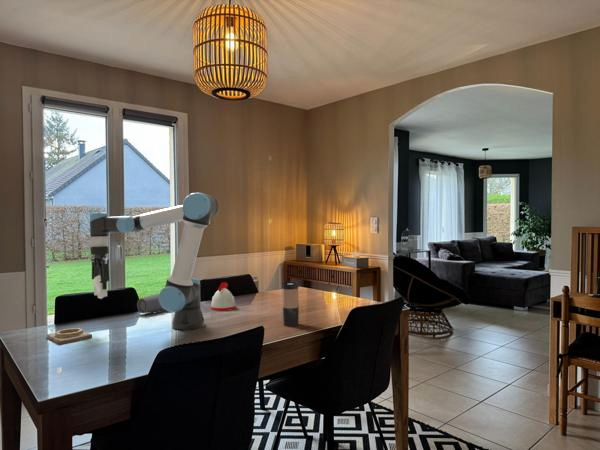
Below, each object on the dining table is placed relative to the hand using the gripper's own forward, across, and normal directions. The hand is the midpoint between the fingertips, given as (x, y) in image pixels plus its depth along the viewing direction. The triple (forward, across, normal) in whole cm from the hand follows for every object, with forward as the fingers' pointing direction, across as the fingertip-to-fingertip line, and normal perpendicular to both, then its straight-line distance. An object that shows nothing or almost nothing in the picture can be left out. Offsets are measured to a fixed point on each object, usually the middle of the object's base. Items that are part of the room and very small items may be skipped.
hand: (100, 295), depth 195 cm
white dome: (+17, -2, -68) cm, 70 cm away
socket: (+17, +1, +13) cm, 22 cm away
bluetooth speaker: (+17, +20, -40) cm, 48 cm away
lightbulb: (+2, 0, 0) cm, 2 cm away
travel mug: (+17, -59, -65) cm, 89 cm away
